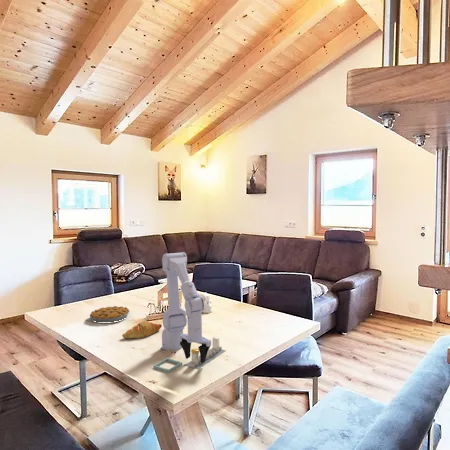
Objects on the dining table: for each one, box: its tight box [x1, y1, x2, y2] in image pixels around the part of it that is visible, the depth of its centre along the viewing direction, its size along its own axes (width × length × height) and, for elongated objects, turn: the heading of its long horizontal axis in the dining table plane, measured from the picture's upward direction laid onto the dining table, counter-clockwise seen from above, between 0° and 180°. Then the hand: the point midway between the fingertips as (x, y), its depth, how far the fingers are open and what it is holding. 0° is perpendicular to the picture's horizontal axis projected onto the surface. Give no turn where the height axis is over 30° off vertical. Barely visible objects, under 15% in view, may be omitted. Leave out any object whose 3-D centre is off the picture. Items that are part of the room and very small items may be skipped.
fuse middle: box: [206, 348, 211, 359], centre depth 153 cm, size 3×3×6 cm
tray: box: [152, 357, 183, 374], centre depth 146 cm, size 8×8×2 cm
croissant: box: [121, 320, 163, 339], centre depth 183 cm, size 21×10×8 cm, turn 129°
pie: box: [89, 305, 130, 323], centre depth 210 cm, size 22×22×5 cm
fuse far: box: [211, 336, 220, 353], centre depth 159 cm, size 3×3×6 cm
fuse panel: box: [184, 345, 227, 370], centre depth 153 cm, size 7×21×2 cm, turn 148°
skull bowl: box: [199, 292, 213, 314], centre depth 223 cm, size 10×14×12 cm
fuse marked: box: [190, 348, 200, 366], centre depth 147 cm, size 3×3×6 cm
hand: (195, 359), depth 147 cm, fingers open, 7 cm apart
